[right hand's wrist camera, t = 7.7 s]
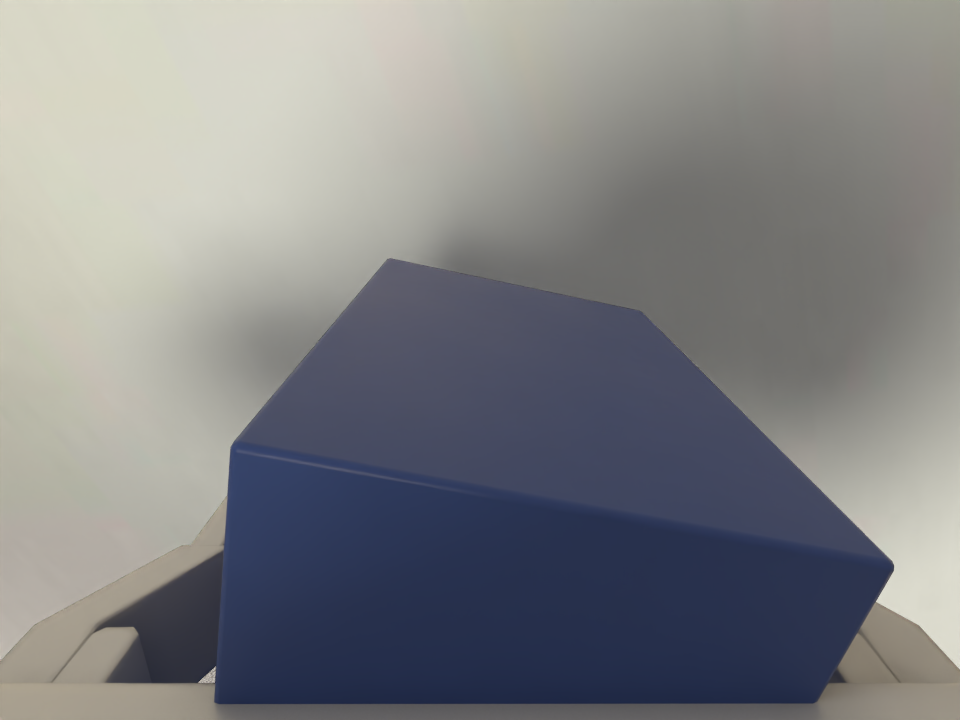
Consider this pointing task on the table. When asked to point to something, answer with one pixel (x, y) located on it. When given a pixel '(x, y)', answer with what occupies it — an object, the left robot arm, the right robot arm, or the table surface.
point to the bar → (523, 518)
